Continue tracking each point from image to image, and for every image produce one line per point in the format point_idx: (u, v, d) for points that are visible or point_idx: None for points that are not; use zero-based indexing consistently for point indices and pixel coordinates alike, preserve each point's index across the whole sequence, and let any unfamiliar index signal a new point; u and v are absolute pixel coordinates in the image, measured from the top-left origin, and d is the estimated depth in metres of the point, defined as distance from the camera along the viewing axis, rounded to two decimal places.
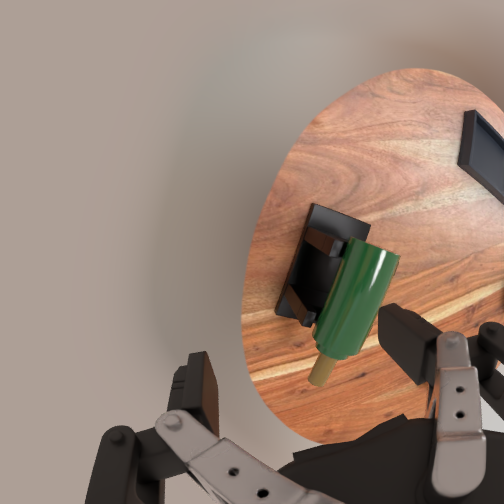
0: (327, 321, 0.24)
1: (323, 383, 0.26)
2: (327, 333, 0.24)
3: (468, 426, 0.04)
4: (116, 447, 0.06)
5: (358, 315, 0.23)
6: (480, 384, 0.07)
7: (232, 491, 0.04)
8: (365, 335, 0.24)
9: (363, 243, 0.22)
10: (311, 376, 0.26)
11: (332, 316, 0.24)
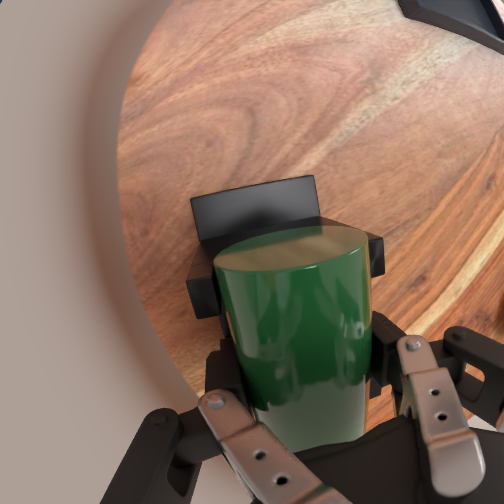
0: None
1: None
2: None
3: (468, 426, 0.04)
4: (157, 430, 0.07)
5: (308, 427, 0.08)
6: None
7: (253, 474, 0.05)
8: (355, 433, 0.09)
9: (226, 275, 0.08)
10: None
11: None
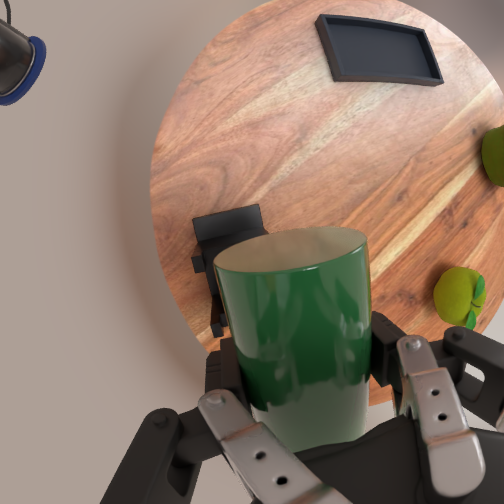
0: None
1: None
2: None
3: (468, 426, 0.04)
4: (157, 430, 0.07)
5: (307, 427, 0.08)
6: None
7: (253, 474, 0.05)
8: (354, 434, 0.09)
9: (225, 276, 0.08)
10: None
11: None
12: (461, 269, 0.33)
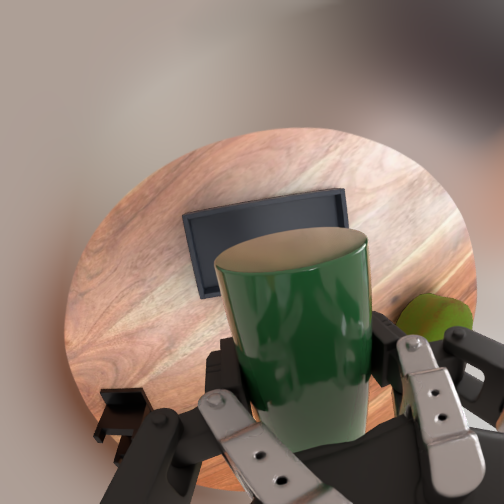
0: None
1: None
2: None
3: (468, 426, 0.04)
4: (157, 430, 0.07)
5: (308, 428, 0.08)
6: None
7: (253, 474, 0.05)
8: (354, 434, 0.09)
9: (226, 277, 0.08)
10: None
11: None
12: None
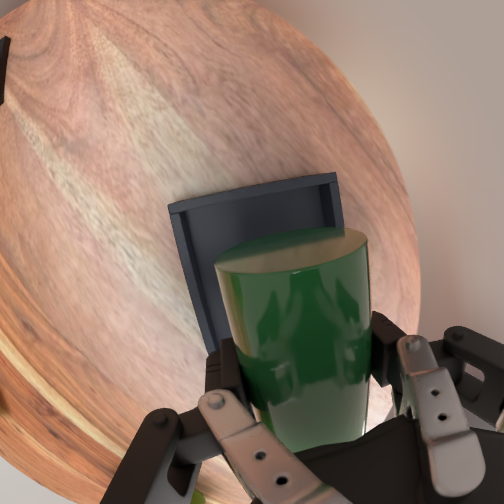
0: None
1: None
2: None
3: (468, 426, 0.04)
4: (157, 430, 0.07)
5: (308, 427, 0.08)
6: None
7: (253, 474, 0.05)
8: (354, 434, 0.09)
9: (226, 277, 0.08)
10: None
11: None
12: None
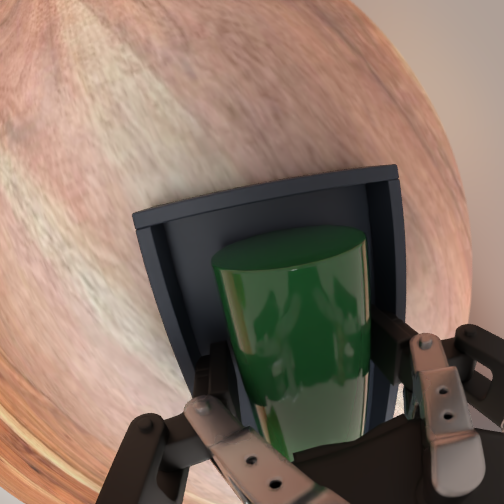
0: (259, 432, 0.10)
1: None
2: None
3: (468, 426, 0.04)
4: (144, 435, 0.06)
5: (304, 427, 0.08)
6: None
7: (246, 479, 0.04)
8: (352, 435, 0.09)
9: (221, 275, 0.08)
10: None
11: (260, 428, 0.10)
12: None
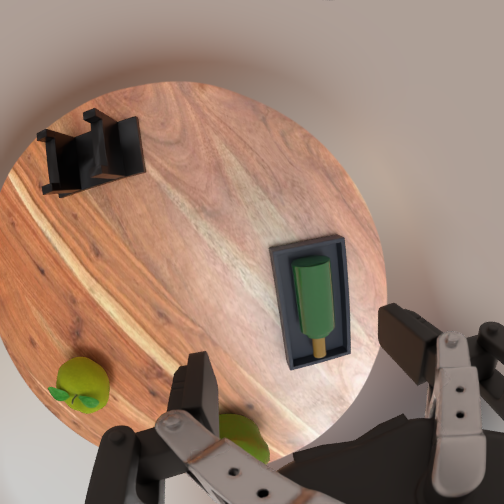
0: (299, 318, 0.38)
1: (322, 354, 0.39)
2: (302, 326, 0.38)
3: (468, 426, 0.04)
4: (117, 447, 0.06)
5: (313, 310, 0.36)
6: (480, 384, 0.07)
7: (232, 491, 0.04)
8: (328, 319, 0.36)
9: (295, 267, 0.36)
10: (313, 352, 0.40)
11: (300, 315, 0.37)
12: (104, 383, 0.35)
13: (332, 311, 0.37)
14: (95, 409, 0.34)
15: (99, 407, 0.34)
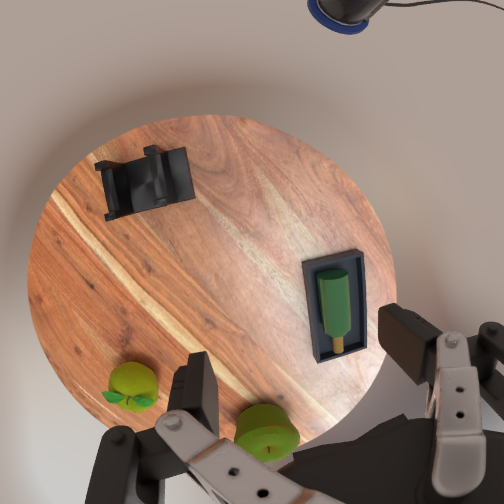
0: (321, 319, 0.46)
1: (339, 351, 0.46)
2: (323, 325, 0.45)
3: (468, 426, 0.04)
4: (117, 447, 0.06)
5: (330, 314, 0.43)
6: (480, 384, 0.07)
7: (232, 491, 0.04)
8: (343, 322, 0.43)
9: (318, 279, 0.43)
10: None
11: (322, 316, 0.45)
12: (155, 384, 0.43)
13: (348, 316, 0.43)
14: (147, 408, 0.41)
15: (150, 406, 0.42)
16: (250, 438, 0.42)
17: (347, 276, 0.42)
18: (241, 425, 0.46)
